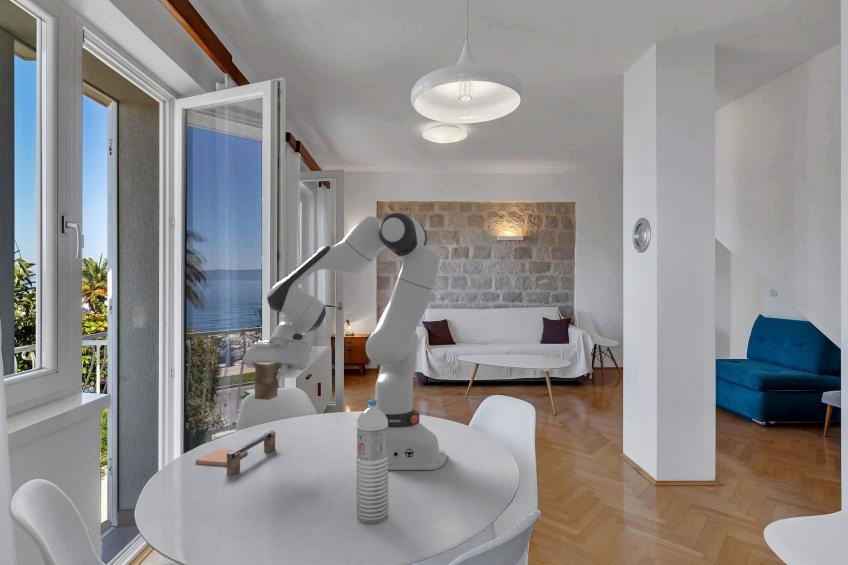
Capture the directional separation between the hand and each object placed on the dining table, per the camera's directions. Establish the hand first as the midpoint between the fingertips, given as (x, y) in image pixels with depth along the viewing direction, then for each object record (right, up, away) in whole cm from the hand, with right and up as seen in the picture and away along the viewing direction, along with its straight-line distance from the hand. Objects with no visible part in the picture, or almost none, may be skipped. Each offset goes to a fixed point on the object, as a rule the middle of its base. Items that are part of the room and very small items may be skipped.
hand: (266, 378), depth 130 cm
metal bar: (-4, -19, 0) cm, 20 cm away
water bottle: (+35, -23, -34) cm, 54 cm away
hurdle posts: (-4, -24, 0) cm, 24 cm away
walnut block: (0, -5, 0) cm, 5 cm away
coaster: (-14, -24, +2) cm, 28 cm away
